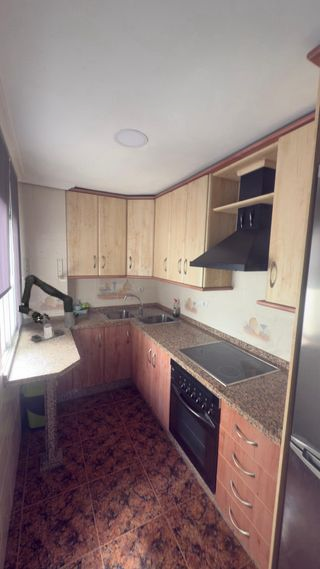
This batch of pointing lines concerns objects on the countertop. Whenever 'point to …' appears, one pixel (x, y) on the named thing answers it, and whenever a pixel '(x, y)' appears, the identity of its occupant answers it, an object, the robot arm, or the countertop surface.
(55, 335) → the mounting plate
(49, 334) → the grey module
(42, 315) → the robot arm
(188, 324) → the countertop surface
